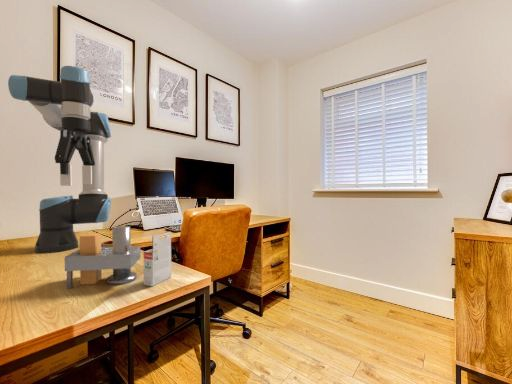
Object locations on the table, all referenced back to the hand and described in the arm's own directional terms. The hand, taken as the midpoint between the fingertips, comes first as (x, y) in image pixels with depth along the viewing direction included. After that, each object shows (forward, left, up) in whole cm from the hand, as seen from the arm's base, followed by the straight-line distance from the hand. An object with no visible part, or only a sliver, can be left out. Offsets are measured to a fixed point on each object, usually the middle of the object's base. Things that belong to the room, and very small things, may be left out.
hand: (77, 184), depth 82 cm
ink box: (+12, +27, -29) cm, 41 cm away
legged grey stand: (+9, +12, -29) cm, 32 cm away
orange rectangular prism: (+9, +7, -29) cm, 31 cm away
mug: (-17, +3, -29) cm, 34 cm away
